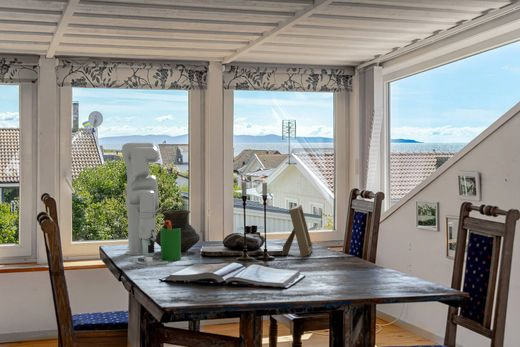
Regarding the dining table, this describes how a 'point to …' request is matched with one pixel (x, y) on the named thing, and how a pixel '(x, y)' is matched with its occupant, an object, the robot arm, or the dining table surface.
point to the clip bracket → (148, 260)
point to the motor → (170, 243)
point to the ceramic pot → (187, 231)
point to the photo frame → (298, 233)
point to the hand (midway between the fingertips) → (148, 251)
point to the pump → (146, 247)
